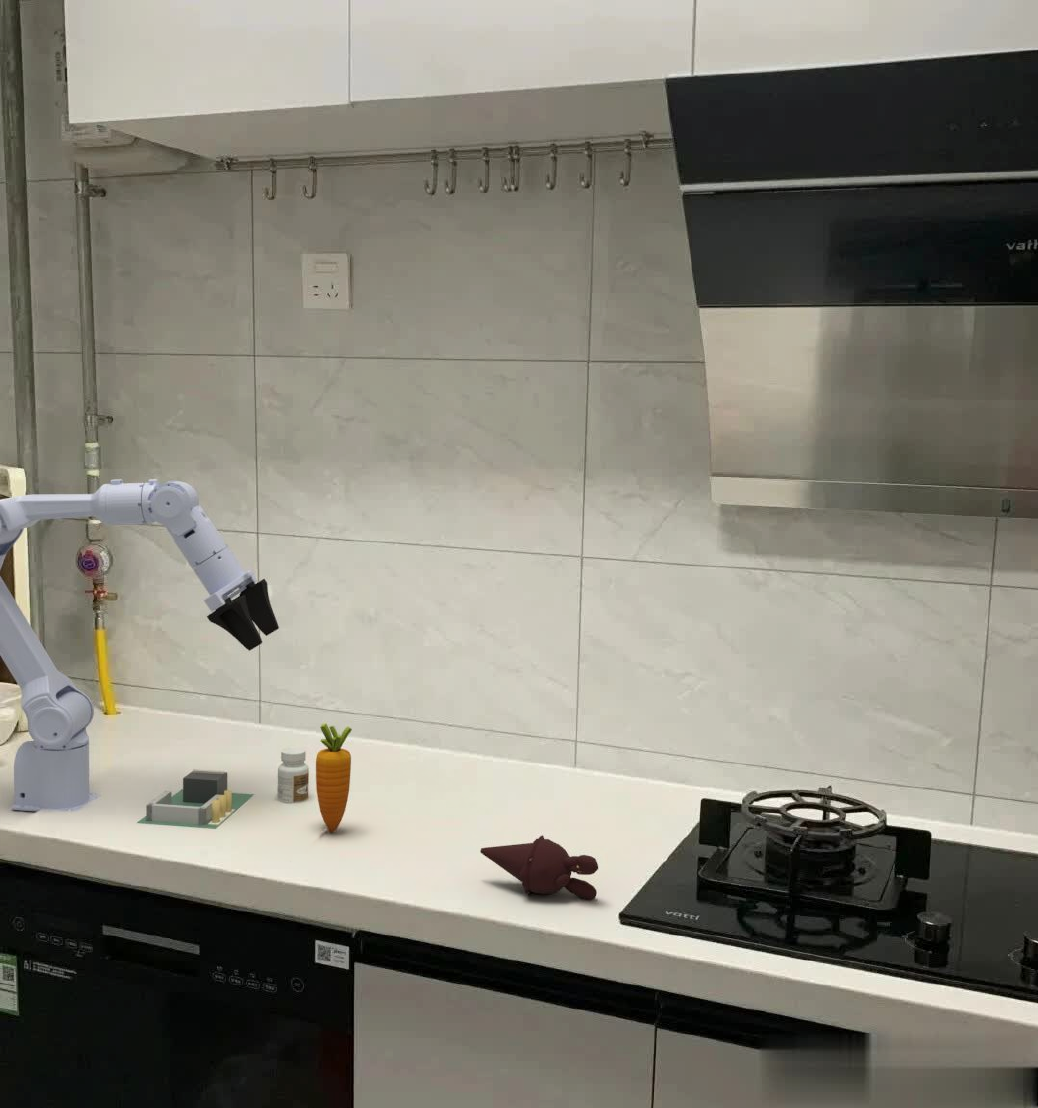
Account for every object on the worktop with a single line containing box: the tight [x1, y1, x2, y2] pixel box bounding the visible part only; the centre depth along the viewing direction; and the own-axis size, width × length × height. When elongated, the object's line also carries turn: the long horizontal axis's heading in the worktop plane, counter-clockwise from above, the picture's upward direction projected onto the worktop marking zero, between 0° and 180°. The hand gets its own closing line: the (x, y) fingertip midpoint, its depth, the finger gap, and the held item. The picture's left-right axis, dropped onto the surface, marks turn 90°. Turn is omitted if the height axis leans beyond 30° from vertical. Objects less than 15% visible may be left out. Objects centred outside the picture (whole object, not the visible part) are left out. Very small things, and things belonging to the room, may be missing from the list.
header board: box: [136, 788, 255, 830], centre depth 163 cm, size 11×15×4 cm
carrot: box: [315, 723, 352, 834], centre depth 156 cm, size 5×5×15 cm
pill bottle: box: [277, 746, 310, 804], centre depth 168 cm, size 4×4×8 cm
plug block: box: [182, 768, 228, 804], centre depth 167 cm, size 5×4×4 cm
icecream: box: [480, 834, 599, 901], centre depth 139 cm, size 7×7×15 cm
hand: (264, 639), depth 163 cm, fingers open, 7 cm apart
